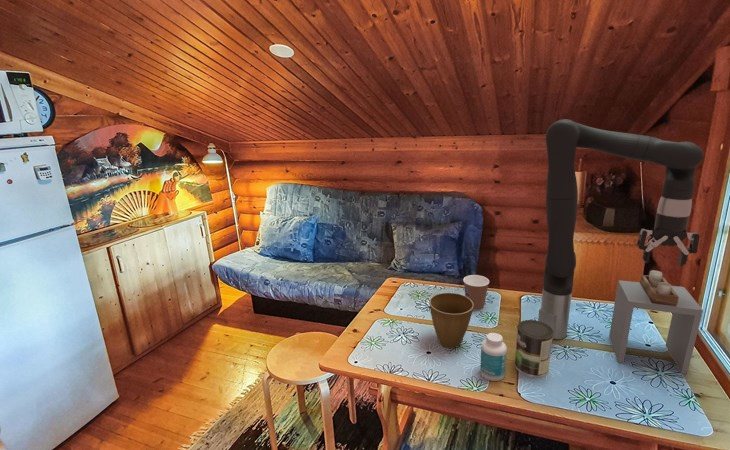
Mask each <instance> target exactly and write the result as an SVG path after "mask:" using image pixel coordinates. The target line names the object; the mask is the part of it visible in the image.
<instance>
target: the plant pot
mask: <svg viewBox="0 0 730 450" xmlns="http://www.w3.org/2000/svg"><path fill="white" fill-rule="evenodd" d="M429 310H430V316H431V320H432V324H433V329H434V331H435V335H436V337H437V339H438V343H439V344H440V345H441V346H443V347H445V348H448V349H454V348H457V347H460V345H461V343H462V341H463V339H464V336H465V335H466V332H467V330H468V327H469V324H470V323H471V322H470V321H471V319H472V318H471V317H472V313H473V311H474V310H473V302H472V301H471V299H469V298H468V297H466V296H465V294H460V293H455V292H441V293H436V294H435V295H433V296H431V297H430V299H429Z"/></svg>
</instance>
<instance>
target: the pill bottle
mask: <svg viewBox="0 0 730 450" xmlns="http://www.w3.org/2000/svg"><path fill="white" fill-rule="evenodd" d="M503 339H504V338H503V336H502V335H501V334H500V333H497V332H490V333H489V332H488V333H487V334H486V339H484V340H483V341H482V343H481V348H480V365H479V366H480V369H479V371H480V374H481V376H482V377H483V378H485V379H486V380H488V381H493V382H497V381H501V380H504V378H505V376H506V364H507V354H508V353H507V352H508V351H507V349H508V348H507V345H506V344H505V342H504V340H503Z"/></svg>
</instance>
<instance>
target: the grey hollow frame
mask: <svg viewBox="0 0 730 450" xmlns="http://www.w3.org/2000/svg"><path fill="white" fill-rule="evenodd" d="M671 287H672V289H673V290H674V291H675V293H676V294H677V295H678V297H679V298H678V303H677V306H670V305H662V304H654V303H652V302H651V301H650V299H649V297H648V296H647V294H646V292H645V291H644V289H643V287H642V286H641V284H640V281H639V282H638V281H628V280H621V279H619V280H617V286H616V293H615V299H614V303H613V304H614V305H613V311H612V312H613V313H612V317H611V322H610V323H611V324H610V328H609V329H610V330H609V335H608V337H609V341H610V345H611V346H612V349H614V350H613V352H615V353H614V355H615V359H616V361H617V363H618V362H619V364H624V362H625V355H626V351H627V346H628V341H629V336H630V334H629V333H630V329H631V325H632V324H631V323H632V318H633V313H634V309H640V310H648V311H657V312H665V313H671V317H670V318H671V319H670V324H669V329H668V332H667V336H666V342H665V347H666V349H667V351H668V352H669V354H670V356H671V357H672V360H673V361H674V362H675V365H676V367H677V368H678V371H679V372H680V374H683V375H688V373H689V369H690V365H691V360H692V357H693V352H694V349H695V344H696V340H697V335H698V332H699V328H700V324H701V321H702V316H703V312H704V311H703V310H704V309H703V308H702V307H701V306H700V305H699V303H698V302H697V300H696V299H695V298H694V297H693V296H692V295H691V294H690V292H689V291H688V290H687V289H686V288H685V287H684V286H679V285H677V286H676V285H672V286H671Z"/></svg>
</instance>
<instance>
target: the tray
mask: <svg viewBox="0 0 730 450" xmlns="http://www.w3.org/2000/svg"><path fill="white" fill-rule="evenodd" d="M663 275H664V274H663V272H662V271H659V270H649V275H646V274H645V275H644V274H641V275H640V281H639V282H640V284H641V286H642V287H643V289H644V291H645V292H646V294H647V296H648V297H649V299H650V301H651V302H652V303H654V304H662V305H670V306H677V303H678V298H679V297H678V295H677V294H676V293H675V291H674V290H673V289H672V287H671V286H673V285H672V284H671V283H669V282H668V281H667V280H666V278H665V277H664V276H663Z"/></svg>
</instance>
